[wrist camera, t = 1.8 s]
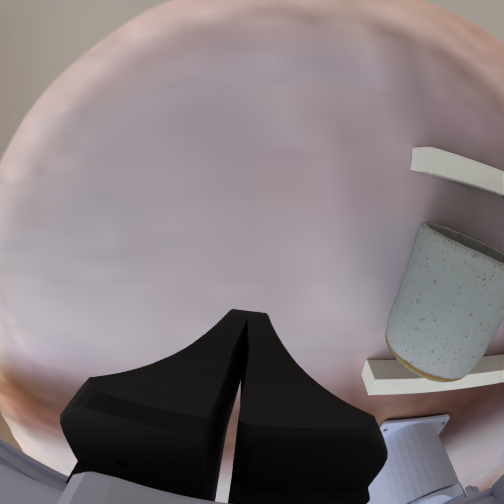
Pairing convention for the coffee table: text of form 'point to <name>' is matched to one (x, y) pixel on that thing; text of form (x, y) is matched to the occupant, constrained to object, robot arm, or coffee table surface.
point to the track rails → (489, 367)
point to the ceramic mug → (446, 304)
